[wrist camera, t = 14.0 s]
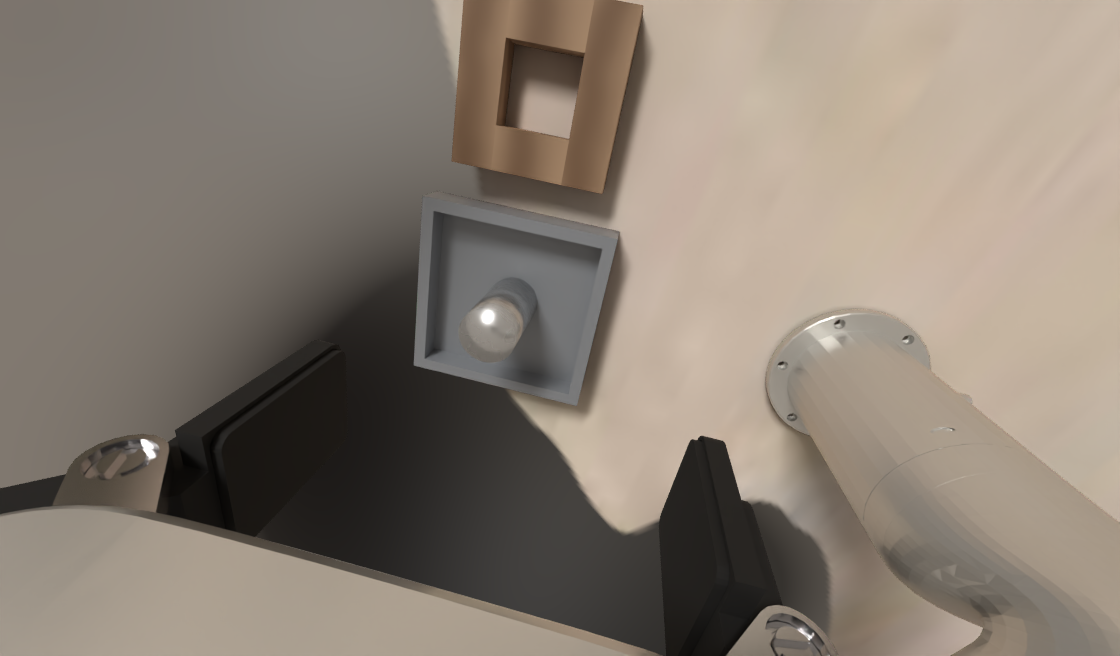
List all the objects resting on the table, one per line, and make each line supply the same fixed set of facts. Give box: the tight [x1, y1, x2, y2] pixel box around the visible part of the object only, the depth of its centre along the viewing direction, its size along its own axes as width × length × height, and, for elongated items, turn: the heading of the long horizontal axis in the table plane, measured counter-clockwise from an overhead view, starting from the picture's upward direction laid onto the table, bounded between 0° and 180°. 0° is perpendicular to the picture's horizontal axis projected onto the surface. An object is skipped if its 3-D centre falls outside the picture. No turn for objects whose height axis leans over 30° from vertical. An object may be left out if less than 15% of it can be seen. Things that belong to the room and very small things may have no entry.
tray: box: [414, 191, 619, 406], centre depth 40 cm, size 16×16×3 cm
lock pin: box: [458, 277, 537, 363], centre depth 37 cm, size 4×4×8 cm
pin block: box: [452, 0, 643, 194], centre depth 33 cm, size 12×12×2 cm
